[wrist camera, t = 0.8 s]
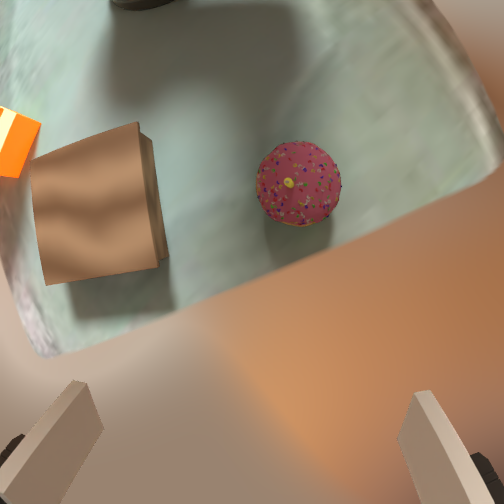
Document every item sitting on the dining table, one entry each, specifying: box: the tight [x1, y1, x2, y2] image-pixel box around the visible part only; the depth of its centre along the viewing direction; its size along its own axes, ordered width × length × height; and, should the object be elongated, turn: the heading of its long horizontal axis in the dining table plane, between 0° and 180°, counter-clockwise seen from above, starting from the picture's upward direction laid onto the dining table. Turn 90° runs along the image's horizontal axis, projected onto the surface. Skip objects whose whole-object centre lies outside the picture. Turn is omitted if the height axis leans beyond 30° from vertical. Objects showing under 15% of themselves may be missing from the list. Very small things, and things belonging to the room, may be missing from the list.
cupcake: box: [256, 141, 342, 227], centre depth 28 cm, size 9×8×12 cm
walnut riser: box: [30, 122, 169, 286], centre depth 32 cm, size 15×15×6 cm
